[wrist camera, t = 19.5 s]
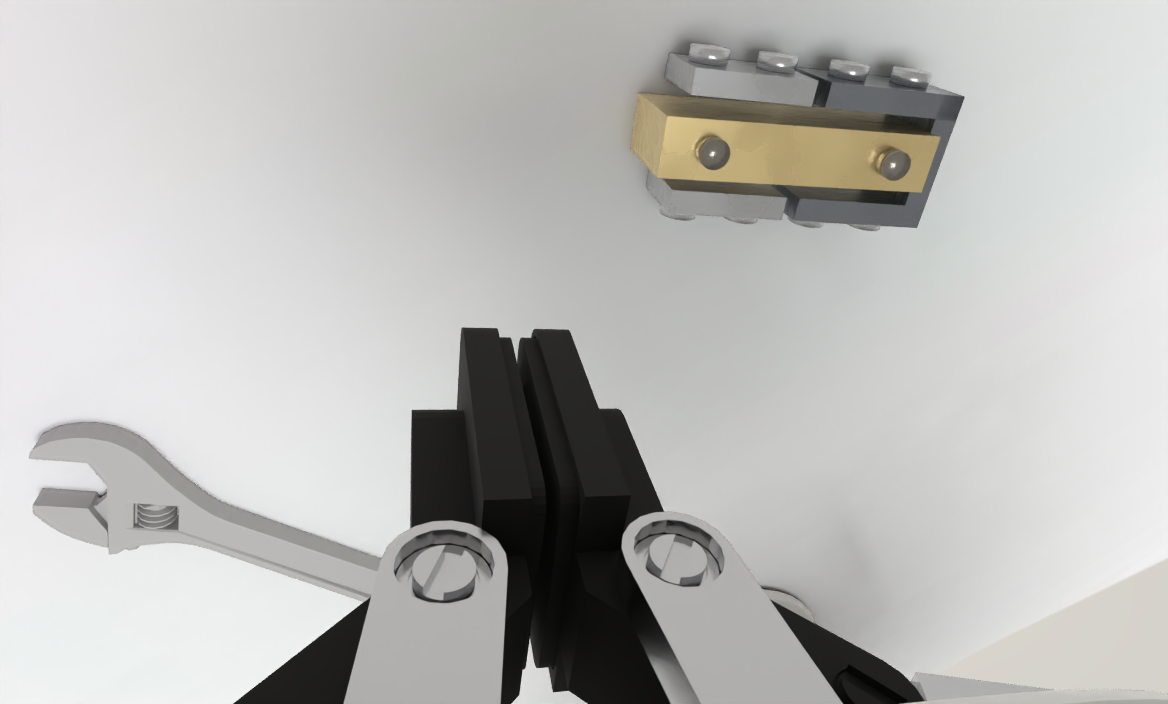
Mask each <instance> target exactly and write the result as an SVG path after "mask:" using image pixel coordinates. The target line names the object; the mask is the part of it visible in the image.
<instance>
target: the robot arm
mask: <svg viewBox="0 0 1168 704" xmlns="http://www.w3.org/2000/svg"><path fill="white" fill-rule="evenodd" d="M529 639H531V645H532V651H533V658H534V663H535V666H536V668H545V667H549V673H550V678H551V684H552V689H553V692H561V691H570V692H572V693H573V694H575V695H576V696H577V697H579V698H580V699H582V700H583V701H585V702H586V703H588V704H1168V693H1161V692H1153V691H1144V690H1121V689H1076V690H1052V689H1044V688H1036V687H1029V686H1020V685H1013V684H1004V683H996V682H988V681H981V680H972V679H965V678H957V677H949V676H941V675H933V674H925V673H917V672H916V673H915V675H914V677H913V679H912V681H909V680H908V679H907V678H906V677H905V676H904V675H903V674H902V673H900V672H899V671H898V670H896V669H895V668H893V667H892V666H890V665H889V664H887V663H886V662H884V661H883V660H881V659H879V658H877V657H875V656H873V655H872V654H870V653H868V652H866V651H864V650H862V649H861V648H859V647H857V646H855V645H853V644H851V643H850V642H848V641H846V640H844V639H842V638H840V637H838V636H837V635H835V634H833V633H831V632H829V631H827V630H826V629H824V628H822V627H820V626H818V625H816V623H815V621H814V619H813V617H812V616H811V614H810V612H809V610H808V609H807V608H806V607H805V606H804V605H803V603H802V602H801V601H799V600H797V599H796V598H794V597H792V596H791V595H788V594H785V593H782V592H779V591H772V590H764V589H762V588H761V586H760V585H759V584H758V582H757V581H756V579H755V578H754V576H753V575H752V574H751V572H750V571H749V569H748V568H747V566H746V565H745V564H744V562H743V561H742V559H741V558H740V557H739V555H738V554H737V552H736V551H735V549H734V548H733V547H732V545H731V544H730V542H729V541H728V540H727V539H726V538H725V537H724V536H723V535H722V534H721V533H720V532H719V531H718V530H717V529H715V528H714V527H712V526H711V525H709V524H708V523H706V522H705V521H702V520H700V519H697V518H695V517H692V516H690V515H687V514H681V513H676V512H664V511H663V508H662V506H661V503H660V501H659V499H658V496H657V494H656V491H655V489H654V487H653V484H652V482H651V479H650V477H649V475H648V472H647V470H646V467H645V465H644V463H643V460H642V458H641V456H640V453H639V451H638V448H637V446H636V444H635V441H634V439H633V436H632V434H631V432H630V429H629V427H628V424H627V422H626V420H625V417H624V415H623V414H622V412H621V410H619V409H599V408H598V405H597V403H596V400H595V397H594V395H593V392H592V389H591V387H590V384H589V381H588V379H587V376H586V373H585V371H584V368H583V365H582V363H581V360H580V357H579V355H578V352H577V349H576V346H575V344H574V341H573V338H572V336H571V333H570V331H569V330H555V329H534V330H533V333H532V337H531V338H521V339H520V342H519V349H518V359H517V361H516V357H515V353H514V348H513V344H512V340H511V338H501V337H499V333H498V329H497V328H462V330H461V341H460V360H459V379H458V398H457V410H412V428H411V516H410V529H409V530H407V531H405V532H403V533H402V534H400V535H398V536H397V537H396V538H395V539H394V540H393V541H392V542H391V543H390V544H389V545H388V546H387V548H386V550H385V552H384V554H383V556H382V558H381V561H380V564H379V568H378V572H377V576H376V580H375V584H374V588H373V591H372V595H371V597H370V598H369V599H367V600H366V601H365V602H363V603H362V604H361V605H360V606H358V607H357V608H356V609H354V610H353V611H352V612H351V613H349V614H348V615H347V616H345V617H344V618H343V619H342V620H340V621H339V622H338V623H336V624H335V625H334V626H333V627H331V628H330V629H329V630H327V631H326V632H325V633H324V634H322V635H321V636H320V637H318V638H317V639H316V640H315V641H313V642H312V643H311V644H309V645H308V646H307V647H306V648H304V649H303V650H302V651H300V652H299V653H298V654H297V655H295V656H294V657H293V658H291V659H290V660H289V661H288V662H286V663H285V664H284V665H282V666H281V667H280V668H279V669H277V670H276V671H275V672H273V673H272V674H271V675H270V676H268V677H267V678H266V679H264V680H263V681H262V682H261V683H259V684H258V685H257V686H255V687H254V688H253V689H252V690H250V691H249V692H248V693H246V694H245V695H244V696H243V697H241V698H240V699H239V700H237V701H236V702H235V703H234V704H511V703H512V702H513V701H514V700H515V699H516V698H517V697H518V696H519V692H520V685H521V677H522V669H525V667H526V661H527V653H528V646H529Z"/></svg>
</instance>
